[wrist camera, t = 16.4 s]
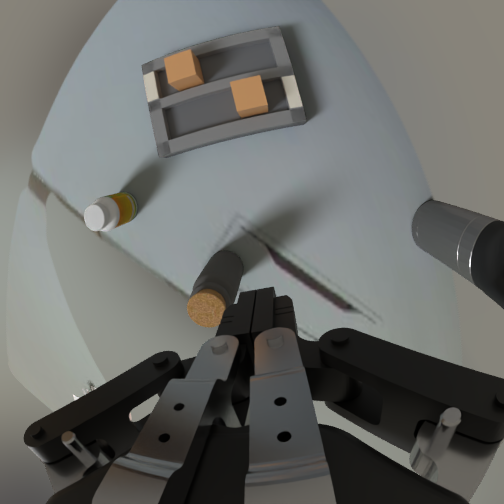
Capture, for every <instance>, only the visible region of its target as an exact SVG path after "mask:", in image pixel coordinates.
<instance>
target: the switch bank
mask: <svg viewBox="0 0 504 504" xmlns="http://www.w3.org/2000/svg"><path fill="white" fill-rule="evenodd" d="M189 49H191V50H192V52H193V53H194V54H195V56H196V57H197V58H198V60H199V62H200V66H201V70H202V75H203V79H204V83H205V84H203V85H200V86H196V87H193V88H190V89H187V90H184V91H181V92H179V91H178V90H177V89H175V88H174V87H173V86H171V85H170V84H169V83H168V78H167V73H166V68H165V62H164V58H166V57H169V56H172V55H174V54H177V53H180V52H183V51H186V50H189ZM142 71H143V78H144V84H145V89H146V95H147V101H148V106H149V111H150V117H151V122H152V127H153V131H154V136H155V141H156V146H157V150H158V155H159V157H165V158H168V157H171V156H174V155H177V154H181V153H184V152H187V151H191V150H194V149H197V148H201V147H204V146H208V145H212V144H215V143H219V142H223V141H227V140H231V139H235V138H239V137H243V136H248V135H252V134H257V133H261V132H266V131H271V130H276V129H281V128H286V127H292V126H298V125H303V124H305V122H306V121H307V119H306V115H305V111H304V108H303V104H302V100H301V96H300V93H299V89H298V85H297V82H296V78H295V75H294V72H293V68H292V65H291V62H290V58H289V55H288V52H287V49H286V46H285V43H284V40H283V37H282V34H281V31H280V28H279V26H277V27H270V28H264V29H258V30H253V31H248V32H243V33H239V34H234V35H230V36H226V37H222V38H218V39H215V40H211V41H207V42H204V43H201V44H197V45H194V46H191V47H188V48H185V49H182V50H179V51H176V52H173V53H171V54H168V55H165V56H163V57H160V58H157V59H155V60H152V61H150V62H148V63H145V64H143V65H142ZM258 75H260V77H261V81H262V85H263V88H264V92H265V96H266V100H267V104H268V112H267V113H263V114H258V115H253V116H249V117H244V118H241V117H240V115H239V114H238V112H237V109H236V105H235V101H234V97H233V93H232V89H231V85H230V82H232V81H236V80H240V79H244V78H249V77H253V76H258Z"/></svg>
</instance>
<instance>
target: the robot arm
mask: <svg viewBox="0 0 504 504" xmlns="http://www.w3.org/2000/svg"><path fill="white" fill-rule="evenodd" d="M412 235H413V238H414V241H415V243H416V244H417V245H418V246H419V247H420V248H421V249H422V250H424V251H425V252H427V253H429V254H430V255H431V256H433V257H434V258H436V259H438V260H439V261H441V262H442V263H444V264H445V265H447V266H448V267H449V268H451V269H452V270H454V271H455V272H457V273H458V274H460V275H461V276H463V277H464V278H465V279H467V280H468V281H470V282H471V283H473V284H474V285H475V286H477V287H478V288H480V289H481V290H482V291H483V292H484V293H485V294H486V295H488V296H489V297H490V298H491V299H492V300H494V301H495V302H496V303H497V304H498V305H500V306H501V307H502V308H503V309H504V222H503V221H500V220H497V219H494V218H491V217H489V216H485V215H482V214H479V213H476V212H473V211H470V210H467V209H463V208H460V207H457V206H453V205H450V204H447V203H443V202H440V201H435V200H432V201H428V202H426V203H424V204H423V205H421V206H420V208H419V209H418V210H417V212H416V213H415V216H414V218H413V222H412ZM155 394H158V396H159V397H160V398H159V400H158V402H157V404H156V405H155V407H154V409H153V411H152V413H150V414H149V415H147V416H146V417H144V418H143V419H141V420H139V421H137V422H131V420H130V418H129V414H130V411H131V410H132V409H133V408H135V407H136V406H138V405H140V404H141V403H143V402H144V401H146V400H147V399H149V398H150V397H152V396H154V395H155ZM312 400H316V401H325V404H326V406H327V407H328V408H329V409H331V410H332V411H334V412H336V413H337V414H339V415H341V416H342V417H344V418H346V419H347V420H349V421H351V422H353V423H354V424H356V425H358V426H359V427H361V428H363V429H365V430H366V431H368V432H370V433H372V434H374V435H375V436H378V437H379V438H381V439H383V440H385V441H387V442H389V443H390V444H392V445H394V446H396V447H398V448H400V449H403V450H404V451H407V452H408V453H410V458H409V460H410V465H411V467H412V469H413V470H414V471H415V472H417V473H418V474H419V475H418V474H417V473H415V472H413V471H411V470H409V469H407V468H406V467H404V466H402V465H400V464H399V463H397V462H395V461H393V460H391V459H390V458H388V457H387V456H385V455H383V454H381V453H380V452H378V451H377V450H375V449H373V448H372V447H370V446H368V445H367V444H365V443H364V442H362V441H361V440H359V439H358V438H356V437H354V436H353V435H351V434H350V433H348V432H345V431H344V430H341V429H339V428H336V427H333V426H329V425H323V424H318V422H317V418H316V414H315V409H314V405H313V401H312ZM503 441H504V379H502V378H499V377H496V376H492V375H489V374H485V373H482V372H478V371H475V370H472V369H469V368H465V367H462V366H459V365H456V364H453V363H450V362H447V361H444V360H440V359H437V358H434V357H431V356H428V355H425V354H422V353H419V352H416V351H413V350H410V349H408V348H405V347H402V346H399V345H396V344H393V343H390V342H387V341H385V340H382V339H379V338H376V337H373V336H371V335H368V334H365V333H362V332H360V331H357V330H354V329H351V328H337V329H333V330H330V331H328V332H326V333H324V334H323V335H322V336H321V337H320V339H319V341H307V340H304V339H302V338H300V337H299V336H298V330H297V324H296V318H295V313H294V307H293V302H292V299H291V298H290V297H288V296H287V295H285V296H279V297H276V294H275V290H274V287H269V288H263V289H257V290H252V291H246V292H240V295H239V298H238V302H237V304H231V305H230V306H229V307H228V308H227V309H225V310H224V313H223V315H222V319H221V321H220V324H219V327H218V330H217V333H216V336H215V337H214V338H211V339H209V340H208V341H207V342H205V343H204V344H203V345H202V346H201V349H200V350H199V352H198V354H197V356H196V357H193V358H189V359H186V360H182V361H181V360H180V357H179V355H178V354H177V353H175V352H173V351H163V352H160V353H157V354H155V355H153V356H151V357H149V358H148V359H146V360H144V361H143V362H141V363H139V364H138V365H136V366H134V367H133V368H131V369H129V370H128V371H126V372H124V373H123V374H121V375H119V376H117V377H116V378H114V379H112V380H110V381H109V382H107V383H105V384H103V385H102V386H100V387H98V388H96V389H95V390H93V391H91V392H89V393H88V394H86V395H84V396H82V397H80V398H79V399H77V400H75V401H73V402H71V403H70V404H68V405H66V406H64V407H62V408H60V409H59V410H57V411H55V412H53V413H51V414H49V415H47V416H45V417H44V418H42V419H40V420H38V421H36V422H34V423H33V424H31V425H30V426H29V427H28V428H27V430H26V432H25V434H24V442H25V444H26V445H27V446H28V447H29V448H30V449H31V450H32V451H33V452H34V453H35V454H36V455H37V456H38V457H39V459H40V460H41V461H42V462H43V463H44V464H45V467H46V470H47V473H48V476H49V479H50V482H51V485H52V488H53V490H54V493H55V494H54V495H53V496H52V497H50V499H49V500H48V501H47V503H46V504H469V501H470V499H471V498H472V496H473V494H474V493H475V491H476V489H477V488H478V486H479V484H480V482H481V481H482V479H483V477H484V475H485V473H486V472H487V470H488V468H489V466H490V464H491V462H492V460H493V458H494V455H495V453H496V451H497V449H498V448H499V447H500V445H501V444H502V442H503ZM420 475H421V476H420Z"/></svg>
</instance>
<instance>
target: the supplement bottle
mask: <svg viewBox="0 0 504 504" xmlns="http://www.w3.org/2000/svg"><path fill="white" fill-rule="evenodd" d="M136 213H137V203H136V200H135V199H134V197H133V196H132V195H131V194H129V193H126V192H121V193H117V194H113V195H108V196H104V197H100V198H98V199H97V200H95V201H94V203H93V204H91V205H89V206H88V207H87V208H86V210H85V213H84V220H85V223H86V225H87V227H88V228H89V229H91V230H93V231H99V230H101V231H109V230H112V229H114V228H116V227H119V226H121V225H123V224H126V223H128V222H130V221H132V220H133V219H134V217H135V216H136Z"/></svg>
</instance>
